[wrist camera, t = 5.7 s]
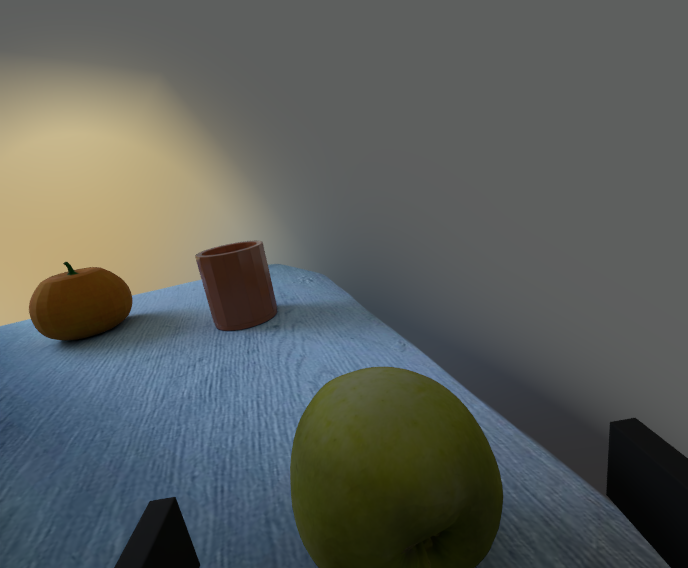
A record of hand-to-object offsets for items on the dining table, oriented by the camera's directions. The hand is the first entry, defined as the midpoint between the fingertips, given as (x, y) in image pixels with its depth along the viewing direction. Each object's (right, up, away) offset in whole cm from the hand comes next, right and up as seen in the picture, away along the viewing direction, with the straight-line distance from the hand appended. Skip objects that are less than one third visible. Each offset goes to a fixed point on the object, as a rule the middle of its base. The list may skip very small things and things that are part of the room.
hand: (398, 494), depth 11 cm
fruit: (-37, 0, +41) cm, 55 cm away
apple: (+1, -5, +4) cm, 7 cm away
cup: (-14, +2, +36) cm, 38 cm away
